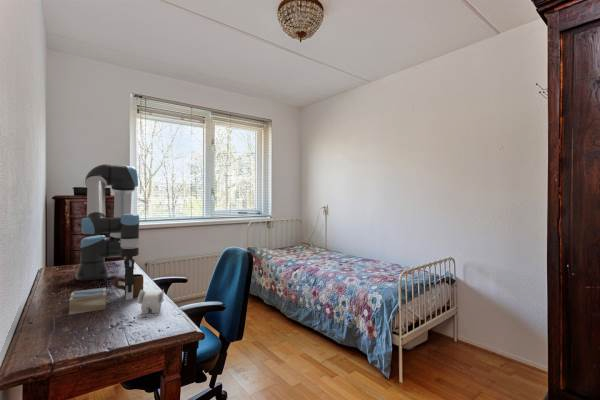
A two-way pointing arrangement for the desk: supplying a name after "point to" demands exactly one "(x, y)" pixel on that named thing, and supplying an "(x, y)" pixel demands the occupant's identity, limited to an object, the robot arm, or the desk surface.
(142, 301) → the elephant figurine
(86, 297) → the plinth
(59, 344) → the desk surface
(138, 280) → the mug
